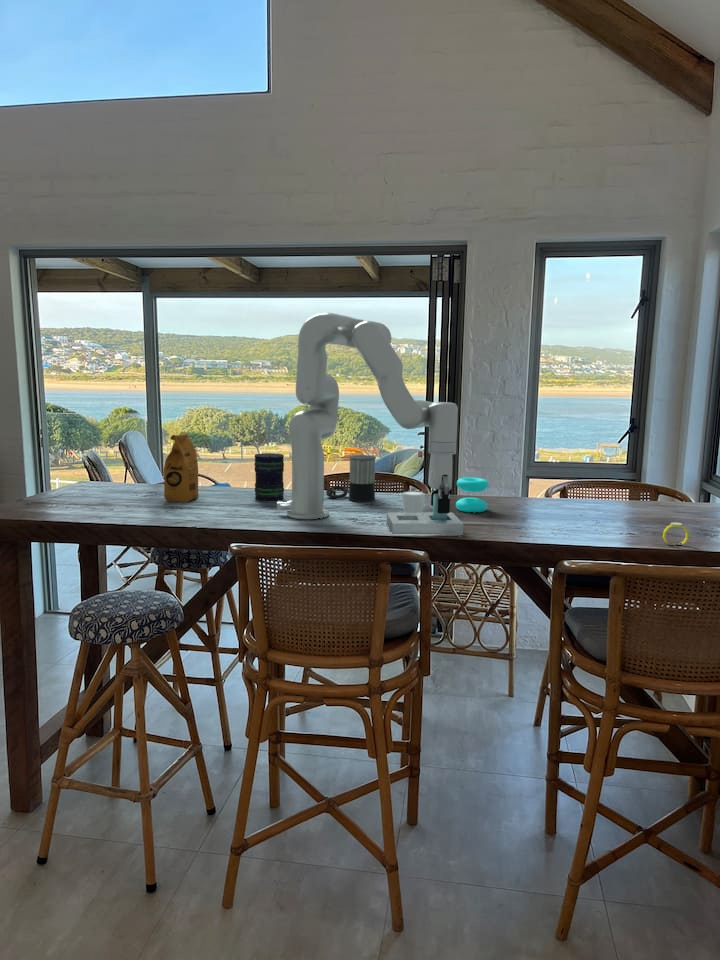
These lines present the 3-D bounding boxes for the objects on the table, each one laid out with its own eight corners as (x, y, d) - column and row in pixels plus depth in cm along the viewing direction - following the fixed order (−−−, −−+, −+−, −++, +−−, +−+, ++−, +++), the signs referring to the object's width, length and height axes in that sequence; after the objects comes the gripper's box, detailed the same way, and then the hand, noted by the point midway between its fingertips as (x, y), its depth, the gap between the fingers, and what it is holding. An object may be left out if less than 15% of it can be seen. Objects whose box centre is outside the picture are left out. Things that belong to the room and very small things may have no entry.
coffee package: (159, 502, 219) (156, 434, 215) (175, 495, 231) (173, 431, 227) (188, 503, 217) (186, 435, 214) (203, 496, 229) (201, 432, 226)
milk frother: (378, 502, 225) (379, 458, 222) (332, 503, 221) (332, 459, 219) (367, 494, 238) (368, 453, 236) (324, 495, 235) (324, 453, 232)
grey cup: (423, 518, 201) (423, 495, 200) (400, 517, 202) (400, 494, 201) (425, 513, 208) (426, 491, 206) (403, 512, 209) (404, 490, 208)
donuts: (454, 476, 218) (485, 477, 218) (453, 506, 219) (483, 507, 219) (459, 481, 208) (491, 482, 208) (458, 513, 209) (490, 513, 209)
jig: (392, 536, 179) (392, 523, 178) (386, 524, 192) (386, 512, 192) (462, 536, 180) (463, 523, 180) (451, 524, 194) (452, 512, 193)
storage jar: (254, 496, 231) (253, 453, 229) (283, 496, 233) (282, 453, 230) (255, 502, 221) (254, 457, 219) (285, 501, 223) (285, 456, 221)
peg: (433, 531, 184) (434, 496, 183) (431, 528, 188) (432, 493, 187) (447, 531, 185) (449, 496, 183) (445, 528, 189) (446, 493, 187)
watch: (664, 547, 173) (665, 524, 172) (661, 544, 176) (661, 522, 175) (689, 547, 172) (689, 524, 172) (685, 544, 175) (686, 521, 174)
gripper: (423, 444, 191) (421, 503, 194) (434, 451, 174) (432, 516, 177) (449, 444, 192) (447, 503, 194) (463, 451, 175) (460, 516, 177)
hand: (439, 509), depth 186 cm, fingers open, 9 cm apart
